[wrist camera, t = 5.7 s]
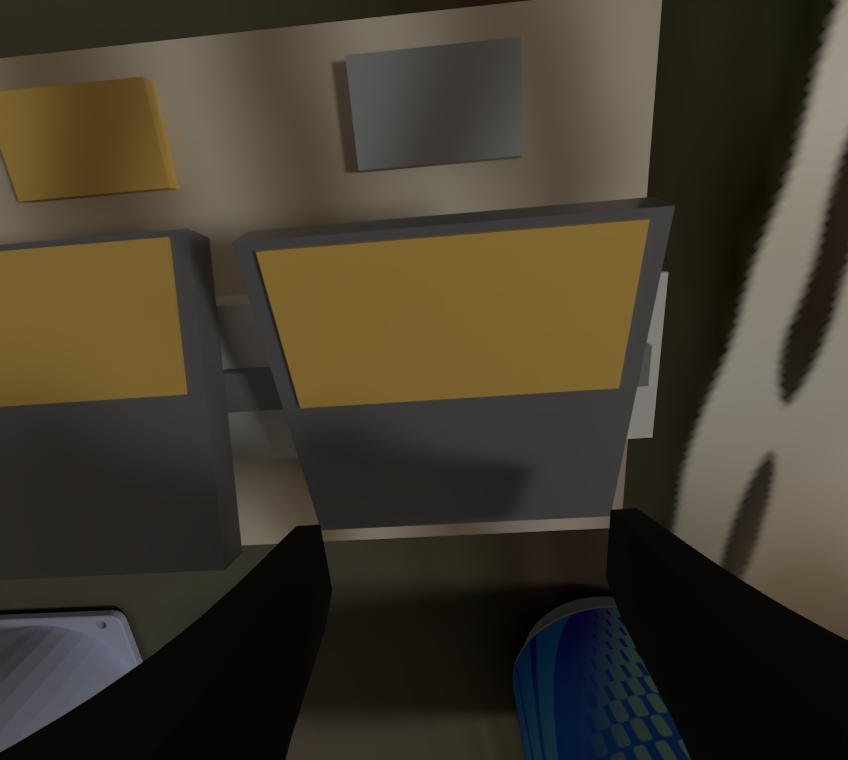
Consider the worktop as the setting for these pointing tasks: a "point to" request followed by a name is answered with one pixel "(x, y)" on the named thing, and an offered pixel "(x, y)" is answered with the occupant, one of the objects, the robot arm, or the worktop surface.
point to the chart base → (332, 149)
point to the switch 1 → (113, 409)
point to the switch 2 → (460, 357)
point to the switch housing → (261, 406)
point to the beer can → (589, 690)
